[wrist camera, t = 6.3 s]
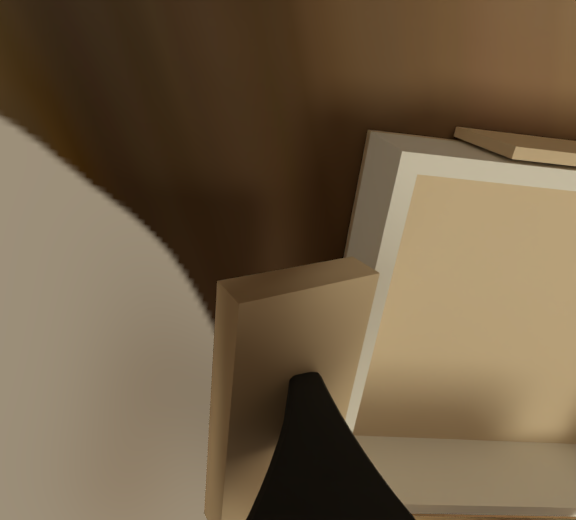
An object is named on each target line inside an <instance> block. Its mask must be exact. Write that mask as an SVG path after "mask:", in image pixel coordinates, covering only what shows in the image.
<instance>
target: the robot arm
mask: <svg viewBox="0 0 576 520" xmlns="http://www.w3.org/2000/svg"><path fill="white" fill-rule="evenodd" d="M246 520H416V519H415V518H414V517H413V515H412V514H411V513H410V512H409V511H408V509H407V508H406V507H405V506H404V504H403V503H402V502H401V501H400V500H399V498H398V497H397V496H396V495H395V493H394V492H393V491H392V489H391V488H390V487H389V485H388V484H387V483H386V481H385V480H384V479H383V477H382V476H381V475H380V473H379V472H378V470H377V469H376V468H375V466H374V465H373V463H372V462H371V460H370V459H369V458H368V456H367V455H366V453H365V452H364V450H363V449H362V447H361V446H360V444H359V442H358V441H357V439H356V438H355V436H354V434H353V433H352V431H351V430H350V428H349V426H348V425H347V423H346V421H345V420H344V418H343V416H342V415H341V413H340V411H339V409H338V408H337V406H336V404H335V402H334V400H333V398H332V397H331V395H330V393H329V391H328V389H327V387H326V385H325V383H324V381H323V379H322V376H321V375H320V374H319V373H318V372H307V373H303V374H298V375H294V376H293V377H292V378H291V379H290V380H289V387H288V394H287V400H286V407H285V414H284V421H283V424H282V428H281V432H280V436H279V439H278V442H277V445H276V448H275V450H274V453H273V456H272V459H271V462H270V465H269V468H268V470H267V473H266V475H265V478H264V480H263V483H262V485H261V488H260V490H259V492H258V495H257V497H256V499H255V501H254V504H253V506H252V508H251V510H250V512H249V514H248V517H247V519H246Z"/></svg>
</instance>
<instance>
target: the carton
mask: <svg viewBox="0 0 576 520" xmlns="http://www.w3.org/2000/svg"><path fill="white" fill-rule="evenodd" d="M454 137H457V138H459V139H462V140H464V141H462V140H454V139H445V138H437V137H428V136H420V135H411V134H403V133H394V132H386V131H377V130H369V129H368V131H367V136H366V142H365V147H364V152H363V157H362V162H361V168H360V173H359V178H358V183H357V189H356V194H355V199H354V204H353V209H352V215H351V220H350V225H349V230H348V235H347V241H346V246H345V251H344V256H343V258H347V257H352V256H353V257H354V258H356V259H358V260H359V261H361V262H362V263H364V264H366V265H367V266H369V267H371V268H372V269H374V270H375V271H377V272H379V273H380V274H379V279H378V283H377V287H376V291H375V296H374V300H373V304H372V308H371V313H370V317H369V321H368V325H367V330H366V334H365V338H364V342H363V347H362V351H361V355H360V359H359V364H358V368H357V372H356V376H355V381H354V385H353V389H352V393H351V398H350V402H349V406H348V410H347V415H346V419H345V421H346V423H347V425H348V426H349V428H350V430H351V431H352V433H353V434H354V436H355V438H356V439H357V441H358V442H359V444H360V446H361V447H362V449H363V450H364V452H365V453H366V455H367V456H368V458H369V459H370V460H371V462H372V463H373V465H374V466H375V468H376V469H377V470H378V472H379V473H380V475H381V476H382V477H383V479H384V480H385V481H386V483H387V484H388V485H389V487H390V488H391V489H392V491H393V492H394V493H395V495H396V496H397V497H398V498H399V500H400V501H401V502H402V503H403V504H404V506H405V507H406V508H407V509H408V511H409V512H410V513H420V514H472V515H525V516H576V141H572V140H564V139H555V138H547V137H539V136H531V135H522V134H514V133H506V132H498V131H489V130H481V129H473V128H464V127H456V129H455V133H454Z"/></svg>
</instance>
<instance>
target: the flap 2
mask: <svg viewBox="0 0 576 520" xmlns="http://www.w3.org/2000/svg"><path fill="white" fill-rule="evenodd" d="M413 517H414V518H415V519H416V520H576V519H551V518H496V517H441V516H413Z"/></svg>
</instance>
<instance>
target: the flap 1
mask: <svg viewBox="0 0 576 520" xmlns="http://www.w3.org/2000/svg"><path fill="white" fill-rule="evenodd" d="M379 274H380V273H379V272H377V271H375V270H374V269H372V268H371V267H369V266H367V265H366V264H364V263H362V262H361V261H359V260H358V259H356V258H354V257H353V256H352V257H347V258H341V259H335V260H330V261H324V262H319V263H313V264H308V265H302V266H297V267H291V268H286V269H280V270H274V271H269V272H263V273H258V274H252V275H247V276H241V277H236V278H230V279H225V280H219V281H217V294H216V312H215V330H214V349H213V366H212V384H211V385H212V386H211V402H210V403H211V404H210V420H209V438H208V439H209V440H208V456H207V457H208V458H207V475H206V492H205V510H204V513H205V516H206V518H207V520H246V519H247V517H248V514H249V512H250V510H251V508H252V506H253V504H254V501H255V499H256V497H257V495H258V492H259V490H260V488H261V485H262V483H263V480H264V478H265V475H266V473H267V470H268V468H269V465H270V462H271V459H272V456H273V453H274V450H275V448H276V445H277V442H278V439H279V436H280V432H281V428H282V424H283V421H284V414H285V407H286V400H287V394H288V387H289V380H290V379H291V378H292V377H293V376H294V375H298V374H303V373H307V372H318V373H319V374H320V375H321V376H322V379H323V381H324V383H325V385H326V387H327V389H328V391H329V393H330V395H331V397H332V398H333V400H334V402H335V404H336V406H337V408H338V409H339V411H340V413H341V415H342V416H343V418H344V420H345V419H346V415H347V410H348V406H349V402H350V398H351V393H352V389H353V385H354V381H355V376H356V372H357V368H358V364H359V359H360V355H361V351H362V347H363V342H364V338H365V334H366V330H367V325H368V321H369V317H370V313H371V308H372V304H373V300H374V296H375V291H376V287H377V283H378V279H379Z"/></svg>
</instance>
